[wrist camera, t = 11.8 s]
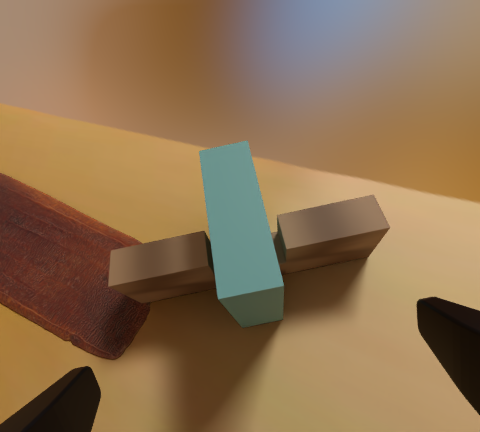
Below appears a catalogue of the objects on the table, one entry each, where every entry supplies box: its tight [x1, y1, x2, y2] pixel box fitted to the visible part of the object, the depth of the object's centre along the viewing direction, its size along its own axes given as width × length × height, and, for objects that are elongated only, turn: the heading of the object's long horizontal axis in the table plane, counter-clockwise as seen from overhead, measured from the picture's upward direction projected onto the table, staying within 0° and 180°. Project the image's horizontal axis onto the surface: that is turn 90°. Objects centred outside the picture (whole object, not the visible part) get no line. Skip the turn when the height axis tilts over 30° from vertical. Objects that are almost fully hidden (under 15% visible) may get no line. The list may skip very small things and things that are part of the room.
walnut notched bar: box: [108, 195, 390, 303], centre depth 20 cm, size 18×2×5 cm, turn 100°
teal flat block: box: [199, 141, 284, 328], centre depth 19 cm, size 9×3×9 cm, turn 10°
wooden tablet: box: [0, 173, 150, 359], centre depth 26 cm, size 27×10×2 cm, turn 63°
